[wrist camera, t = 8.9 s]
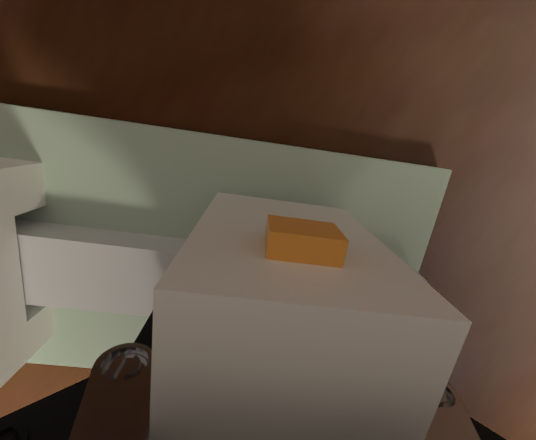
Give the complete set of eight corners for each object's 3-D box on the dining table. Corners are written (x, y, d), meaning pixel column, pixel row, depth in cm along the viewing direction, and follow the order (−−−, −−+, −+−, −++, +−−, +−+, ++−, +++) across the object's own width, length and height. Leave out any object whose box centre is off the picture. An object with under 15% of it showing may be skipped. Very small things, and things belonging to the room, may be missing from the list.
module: (347, 194, 11) (486, 289, 4) (307, 370, 14) (356, 605, 7) (219, 176, 11) (155, 251, 4) (202, 360, 13) (144, 598, 7)
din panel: (438, 167, 13) (706, 220, 5) (372, 377, 16) (474, 596, 9) (-91, 89, 11) (-844, -1, 4) (-40, 340, 15) (-367, 571, 7)
